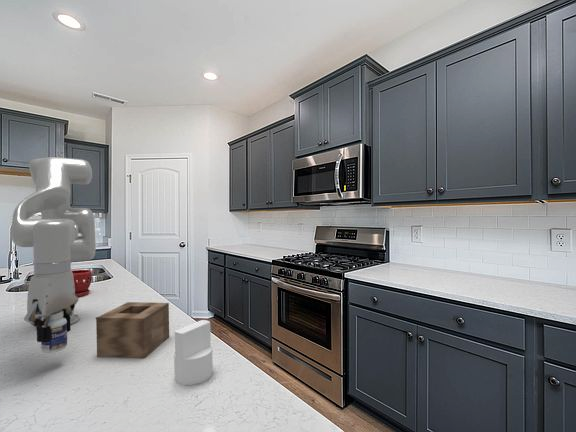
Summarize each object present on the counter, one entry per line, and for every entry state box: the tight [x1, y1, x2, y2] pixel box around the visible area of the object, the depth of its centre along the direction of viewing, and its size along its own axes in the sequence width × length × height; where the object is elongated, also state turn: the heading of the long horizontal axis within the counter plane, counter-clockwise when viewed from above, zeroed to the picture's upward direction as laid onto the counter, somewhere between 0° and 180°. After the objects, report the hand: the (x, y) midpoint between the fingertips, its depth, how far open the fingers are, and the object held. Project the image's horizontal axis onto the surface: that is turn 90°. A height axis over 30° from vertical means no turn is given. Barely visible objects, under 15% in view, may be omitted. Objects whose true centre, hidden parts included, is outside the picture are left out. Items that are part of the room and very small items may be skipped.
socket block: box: [95, 301, 170, 359], centre depth 88 cm, size 14×14×11 cm
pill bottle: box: [40, 310, 68, 354], centre depth 77 cm, size 5×5×10 cm
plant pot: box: [71, 269, 93, 298], centre depth 144 cm, size 13×13×12 cm
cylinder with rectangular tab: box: [173, 319, 214, 386], centre depth 72 cm, size 9×9×12 cm
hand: (54, 335), depth 77 cm, fingers closed on pill bottle, 5 cm apart
